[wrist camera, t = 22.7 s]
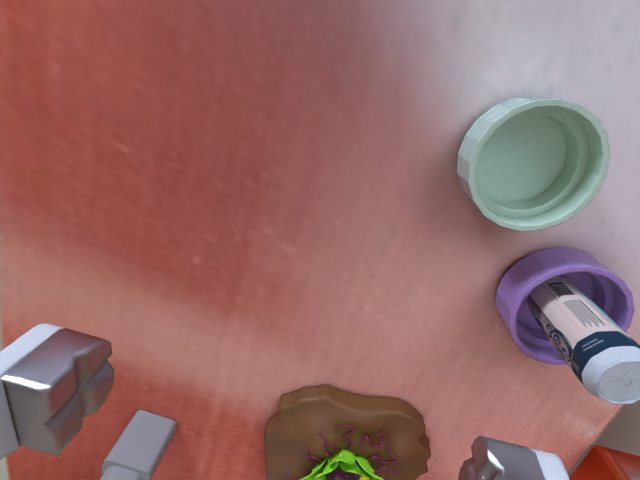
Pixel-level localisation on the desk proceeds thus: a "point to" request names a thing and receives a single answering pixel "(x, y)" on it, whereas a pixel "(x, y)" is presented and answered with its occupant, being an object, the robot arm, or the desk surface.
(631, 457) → the red tall rectangular block
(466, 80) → the desk surface
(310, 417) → the plant
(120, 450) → the power adapter
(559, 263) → the lavender bowl
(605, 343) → the white cylindrical canister
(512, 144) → the celadon bowl
